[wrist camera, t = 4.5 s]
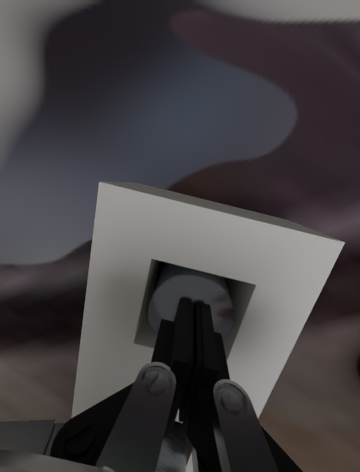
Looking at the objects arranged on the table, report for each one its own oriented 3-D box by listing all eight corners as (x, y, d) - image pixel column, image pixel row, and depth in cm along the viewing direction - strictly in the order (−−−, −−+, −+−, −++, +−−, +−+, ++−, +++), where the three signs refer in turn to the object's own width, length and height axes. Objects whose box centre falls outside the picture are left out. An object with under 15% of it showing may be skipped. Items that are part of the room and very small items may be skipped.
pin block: (206, 422, 21) (211, 512, 15) (99, 395, 21) (64, 474, 16) (286, 219, 15) (344, 242, 9) (135, 182, 15) (99, 181, 9)
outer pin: (211, 303, 17) (219, 359, 12) (158, 289, 17) (141, 339, 12) (228, 252, 16) (246, 289, 10) (170, 238, 16) (157, 267, 10)
